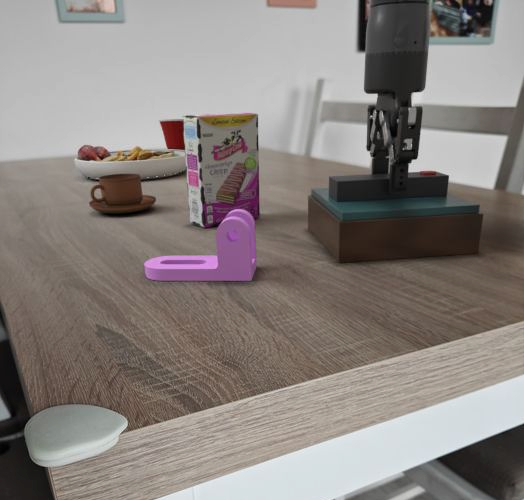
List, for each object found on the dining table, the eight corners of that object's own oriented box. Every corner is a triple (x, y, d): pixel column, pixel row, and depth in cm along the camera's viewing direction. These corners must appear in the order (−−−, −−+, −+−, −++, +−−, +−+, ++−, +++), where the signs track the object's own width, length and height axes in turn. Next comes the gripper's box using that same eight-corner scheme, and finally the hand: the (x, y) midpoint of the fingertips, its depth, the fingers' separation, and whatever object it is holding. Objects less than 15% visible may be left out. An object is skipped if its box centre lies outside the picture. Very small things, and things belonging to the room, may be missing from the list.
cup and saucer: (130, 219, 95) (125, 182, 92) (76, 215, 99) (70, 180, 97) (169, 206, 105) (166, 172, 102) (118, 203, 109) (114, 171, 107)
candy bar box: (205, 229, 86) (196, 115, 79) (189, 224, 90) (179, 115, 83) (262, 218, 92) (259, 112, 85) (245, 214, 96) (241, 111, 89)
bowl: (194, 165, 162) (192, 136, 158) (188, 180, 135) (185, 146, 131) (91, 169, 161) (86, 140, 157) (64, 185, 133) (58, 151, 130)
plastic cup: (198, 155, 186) (195, 117, 181) (191, 159, 177) (188, 118, 171) (166, 156, 187) (163, 118, 182) (158, 160, 178) (154, 119, 173)
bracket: (256, 266, 67) (254, 208, 64) (251, 280, 62) (248, 219, 59) (153, 266, 69) (146, 210, 66) (139, 280, 64) (131, 220, 61)
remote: (328, 196, 76) (328, 174, 75) (433, 190, 77) (435, 168, 76) (336, 202, 72) (337, 178, 70) (447, 195, 73) (449, 173, 72)
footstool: (420, 221, 87) (424, 182, 84) (478, 253, 69) (484, 205, 67) (307, 228, 85) (308, 188, 82) (338, 262, 68) (339, 213, 65)
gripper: (451, 44, 61) (436, 197, 68) (405, 53, 74) (396, 180, 81) (386, 46, 60) (377, 201, 67) (350, 54, 73) (346, 183, 80)
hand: (387, 189), depth 74 cm, fingers open, 7 cm apart
